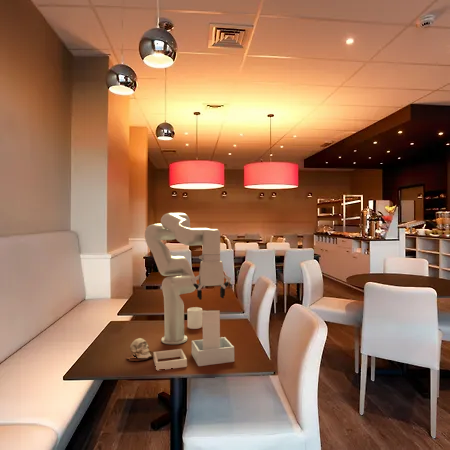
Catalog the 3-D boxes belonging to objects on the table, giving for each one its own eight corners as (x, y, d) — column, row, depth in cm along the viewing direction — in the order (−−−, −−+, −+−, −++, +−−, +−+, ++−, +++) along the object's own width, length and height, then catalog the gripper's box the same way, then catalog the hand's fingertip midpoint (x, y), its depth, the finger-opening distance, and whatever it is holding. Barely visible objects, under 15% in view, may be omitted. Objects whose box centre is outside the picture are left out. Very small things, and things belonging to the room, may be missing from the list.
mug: (208, 329, 188) (208, 311, 188) (186, 328, 190) (186, 310, 189) (210, 324, 196) (210, 307, 196) (189, 324, 198) (189, 307, 197)
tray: (153, 359, 148) (153, 352, 148) (181, 355, 151) (181, 348, 151) (156, 370, 136) (156, 362, 136) (186, 366, 140) (186, 359, 140)
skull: (162, 353, 152) (149, 339, 147) (147, 374, 147) (133, 361, 141) (146, 345, 160) (133, 332, 155) (131, 365, 155) (117, 353, 150)
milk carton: (220, 358, 145) (219, 312, 145) (202, 359, 145) (202, 313, 145) (220, 352, 152) (219, 308, 152) (203, 352, 152) (203, 308, 152)
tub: (191, 354, 153) (191, 340, 153) (225, 350, 157) (224, 337, 157) (198, 366, 140) (198, 351, 140) (234, 361, 145) (234, 347, 145)
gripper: (193, 259, 142) (192, 301, 143) (233, 258, 147) (233, 299, 148) (189, 257, 149) (189, 297, 150) (228, 256, 155) (227, 295, 155)
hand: (211, 298), depth 149 cm, fingers open, 9 cm apart
